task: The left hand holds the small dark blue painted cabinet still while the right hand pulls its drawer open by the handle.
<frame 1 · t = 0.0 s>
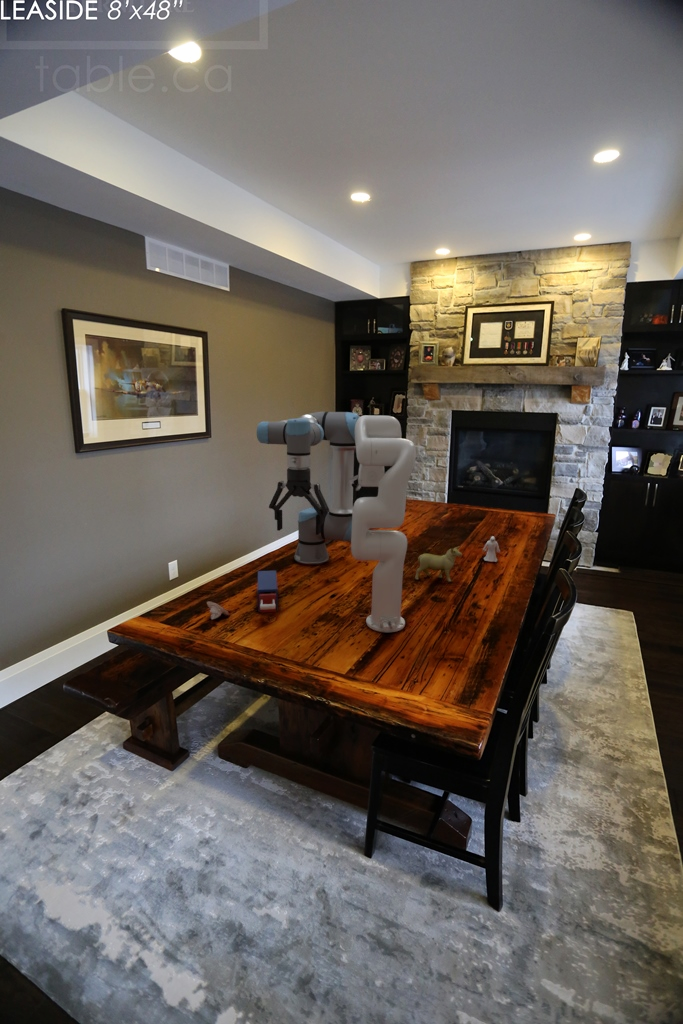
left hand: (298, 531, 165), 28 cm above the table, tool pointing down, fingers open, 13 cm apart
right hand: (370, 500, 199), 31 cm above the table, tool pointing down, fingers open, 9 cm apart
cabinet: (267, 600, 179), on the table
drawer: (267, 597, 172), point 4 cm above the table, slide at 1.4 cm
seashell: (217, 617, 165), on the table
toy: (437, 580, 201), on the table
figurine: (490, 560, 225), on the table
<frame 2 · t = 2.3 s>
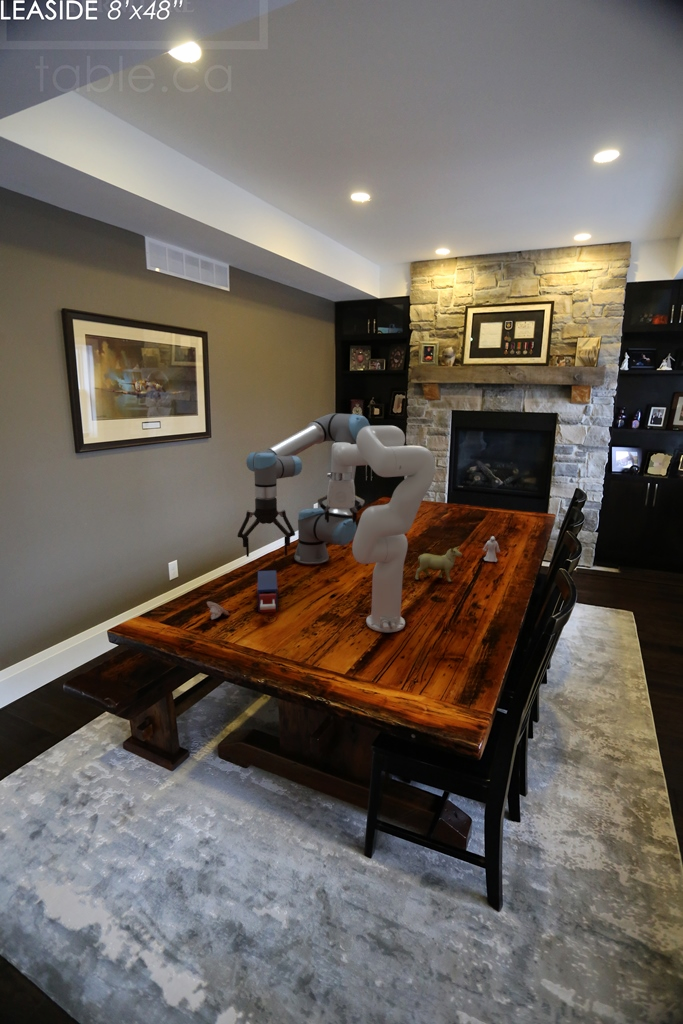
left hand: (266, 555, 180), 15 cm above the table, tool pointing down, fingers open, 13 cm apart
right hand: (340, 521, 186), 26 cm above the table, tool pointing down, fingers open, 9 cm apart
nothing on the table moved.
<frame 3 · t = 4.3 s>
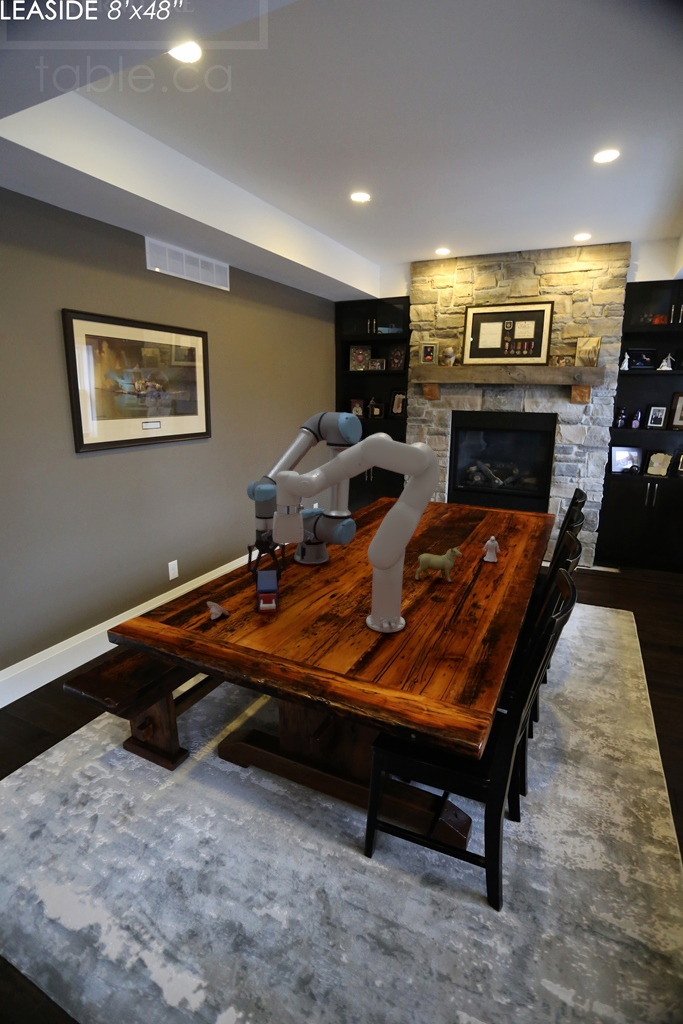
left hand: (267, 588, 183), 2 cm above the table, tool pointing down, fingers closed on cabinet, 7 cm apart
right hand: (287, 558, 168), 18 cm above the table, tool pointing down, fingers open, 9 cm apart
cabinet: (267, 600, 179), on the table, touching left hand
everything else where it was.
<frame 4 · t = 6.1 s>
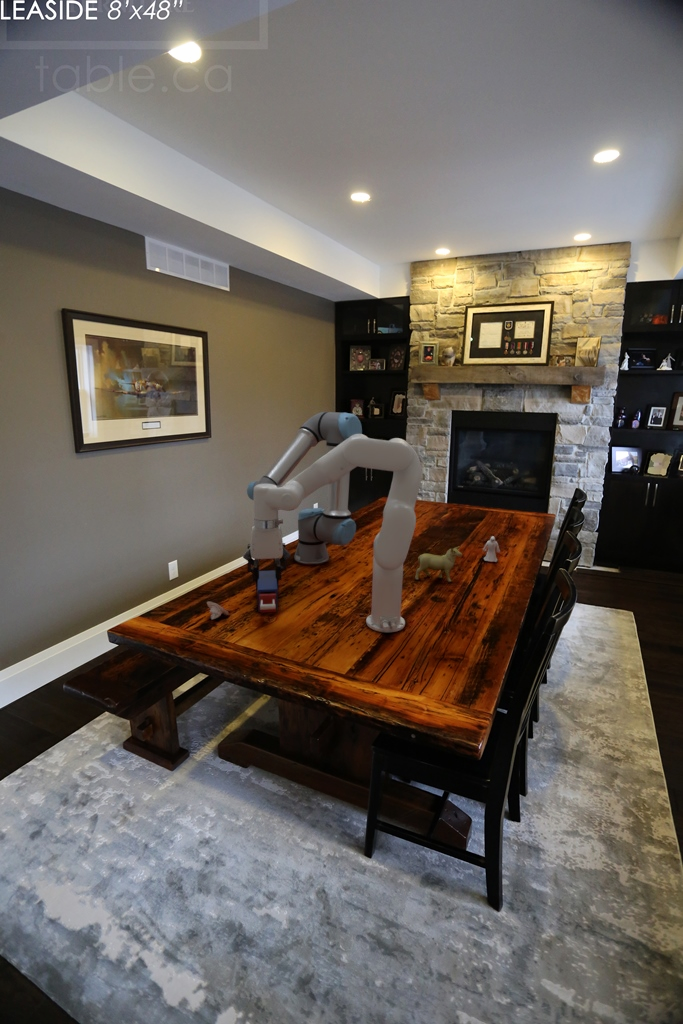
left hand: (267, 588, 183), 2 cm above the table, tool pointing down, fingers closed on cabinet, 7 cm apart
right hand: (267, 576, 161), 15 cm above the table, tool pointing down, fingers open, 5 cm apart
cabinet: (267, 600, 179), on the table, touching left hand
everything else where it was.
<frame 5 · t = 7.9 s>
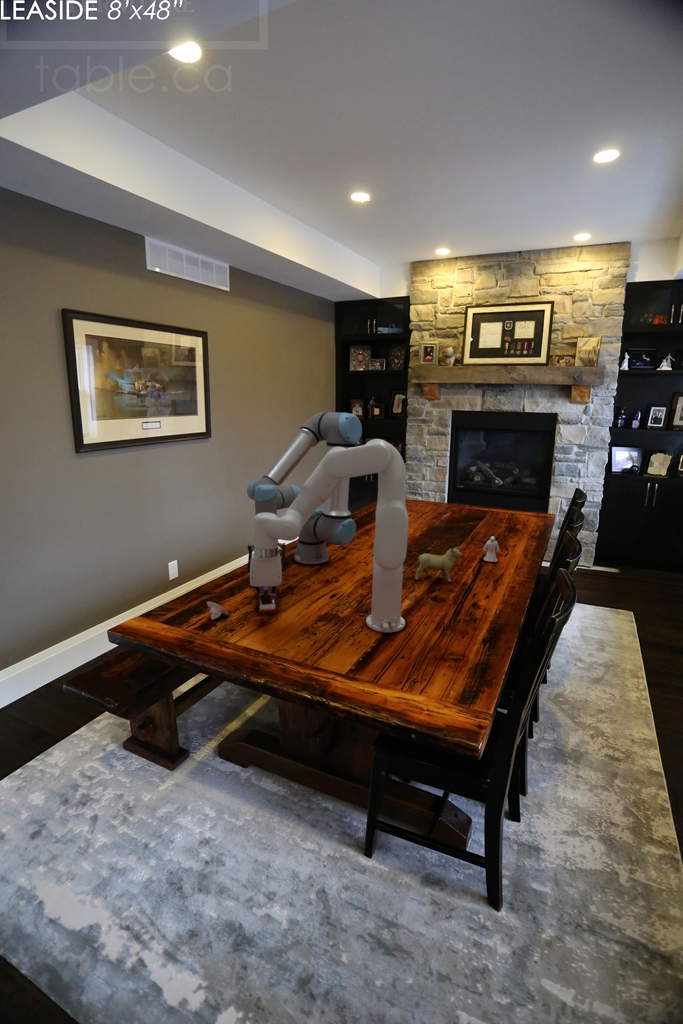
left hand: (267, 588, 183), 2 cm above the table, tool pointing down, fingers closed on cabinet, 7 cm apart
right hand: (265, 604, 164), 5 cm above the table, tool pointing down, fingers closed
cabinet: (267, 600, 178), on the table, touching left hand
drawer: (267, 597, 172), point 4 cm above the table, slide at 1.3 cm, touching right hand
everything else where it was.
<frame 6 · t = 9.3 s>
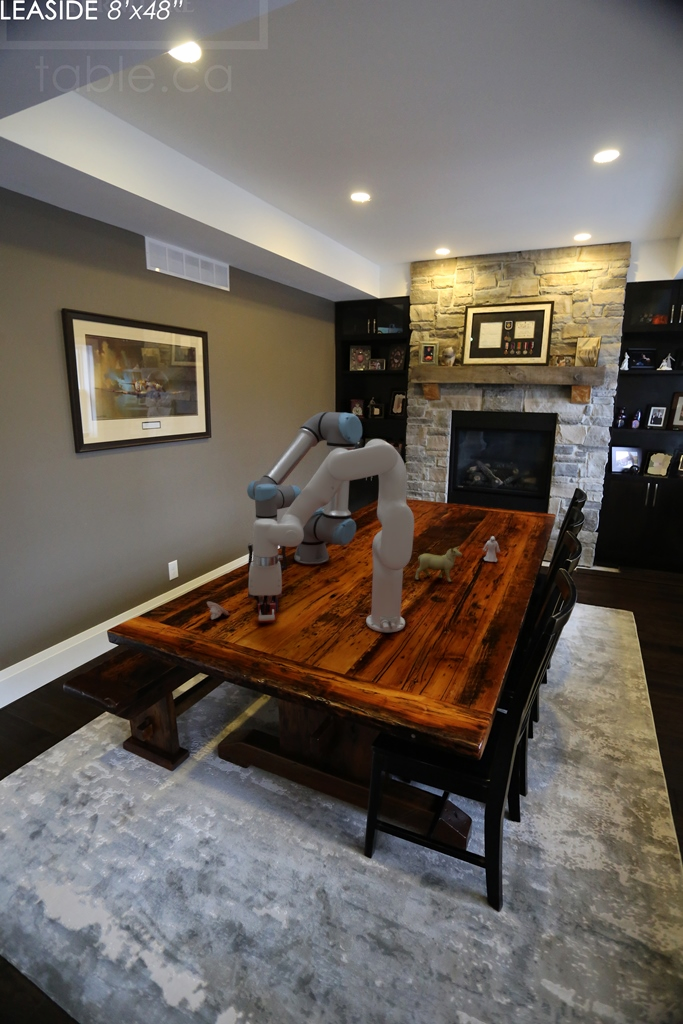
left hand: (268, 588, 183), 3 cm above the table, tool pointing down, fingers closed on cabinet, 7 cm apart
right hand: (264, 614, 157), 5 cm above the table, tool pointing down, fingers closed
cabinet: (268, 600, 178), on the table, touching left hand
drawer: (267, 606, 165), point 4 cm above the table, slide at 7.9 cm, touching right hand
everything else where it was.
when the left hand's fingers open (2 cm above the table, at t = 10.9 s): cabinet stays where it is, on the table.
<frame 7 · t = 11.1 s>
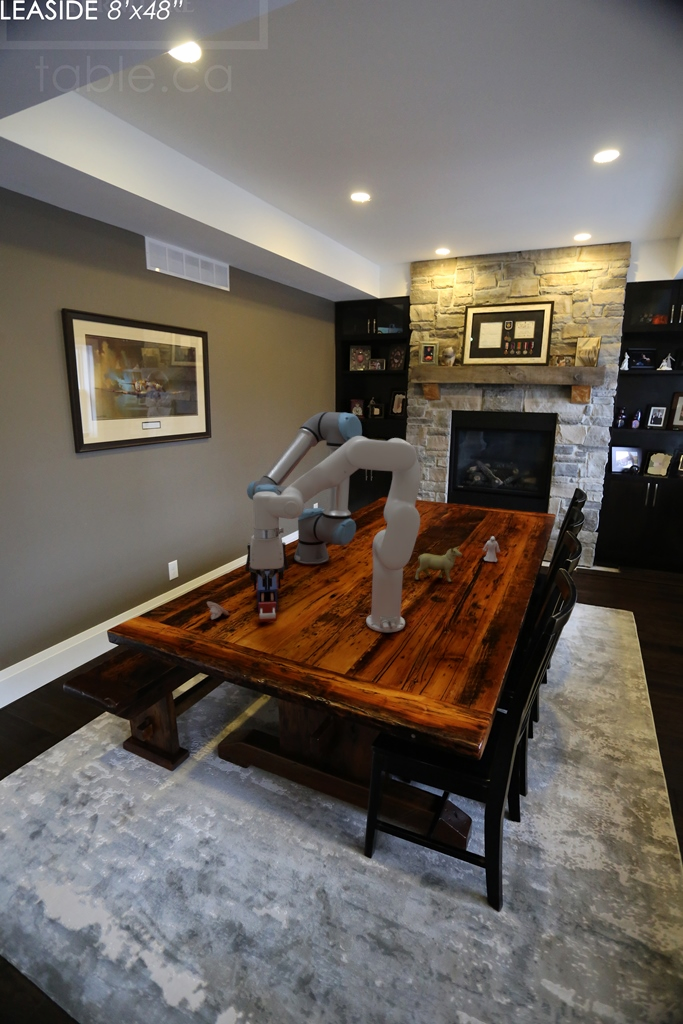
left hand: (267, 587, 183), 3 cm above the table, tool pointing down, fingers open, 8 cm apart
right hand: (267, 588, 156), 13 cm above the table, tool pointing down, fingers closed
cabinet: (267, 600, 178), on the table
drawer: (267, 605, 165), point 4 cm above the table, slide at 7.9 cm
everything else where it was.
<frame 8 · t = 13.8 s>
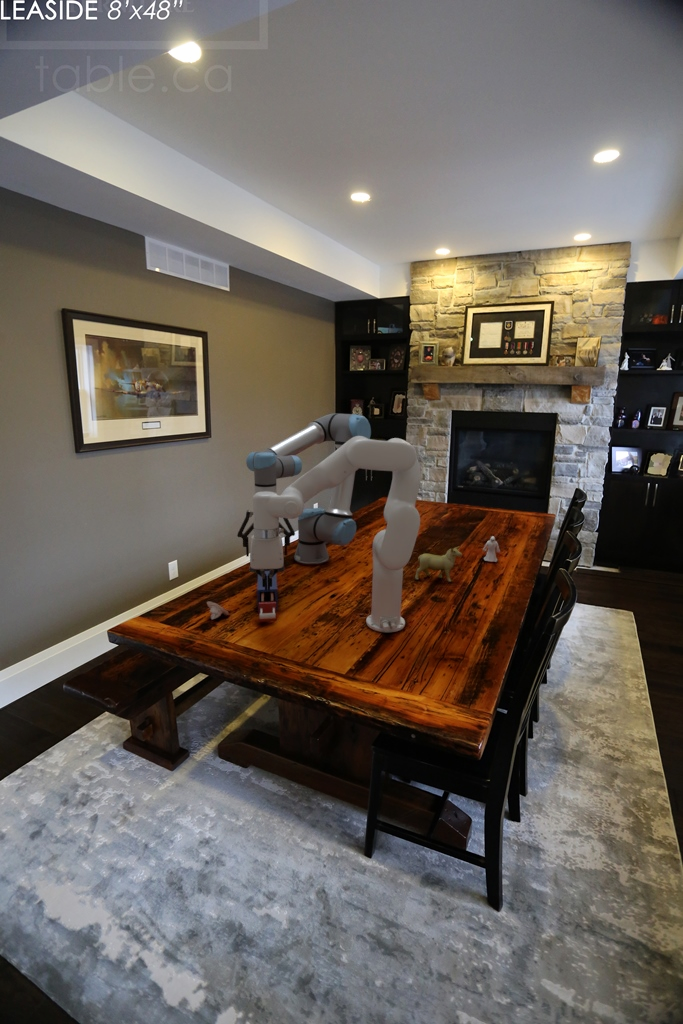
left hand: (266, 554, 180), 15 cm above the table, tool pointing down, fingers open, 13 cm apart
right hand: (267, 588, 156), 13 cm above the table, tool pointing down, fingers closed
nothing on the table moved.
at the end: drawer slide at 7.9 cm; cabinet tilted 0°; cabinet never tilted more than 2° during the clip; cabinet moved 0.1 cm from its start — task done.
